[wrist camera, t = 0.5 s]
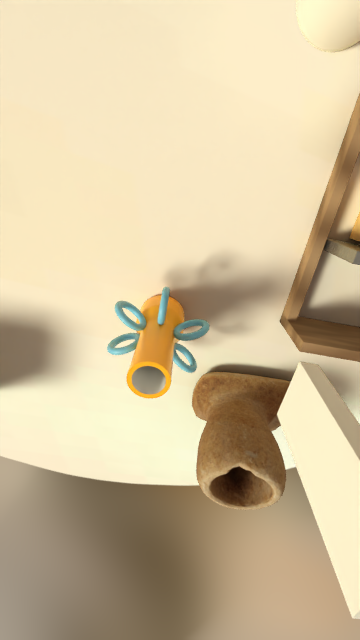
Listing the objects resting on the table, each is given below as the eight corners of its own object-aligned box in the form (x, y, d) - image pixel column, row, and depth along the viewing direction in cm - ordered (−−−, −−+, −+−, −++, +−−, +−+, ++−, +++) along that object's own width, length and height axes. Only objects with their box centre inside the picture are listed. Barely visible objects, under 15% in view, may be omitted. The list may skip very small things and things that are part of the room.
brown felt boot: (185, 421, 48) (183, 515, 35) (199, 360, 43) (203, 440, 30) (276, 435, 49) (310, 532, 35) (300, 375, 44) (349, 461, 30)
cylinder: (221, 317, 40) (238, 384, 27) (170, 364, 44) (162, 445, 30) (153, 256, 37) (132, 296, 24) (104, 312, 41) (60, 376, 27)
